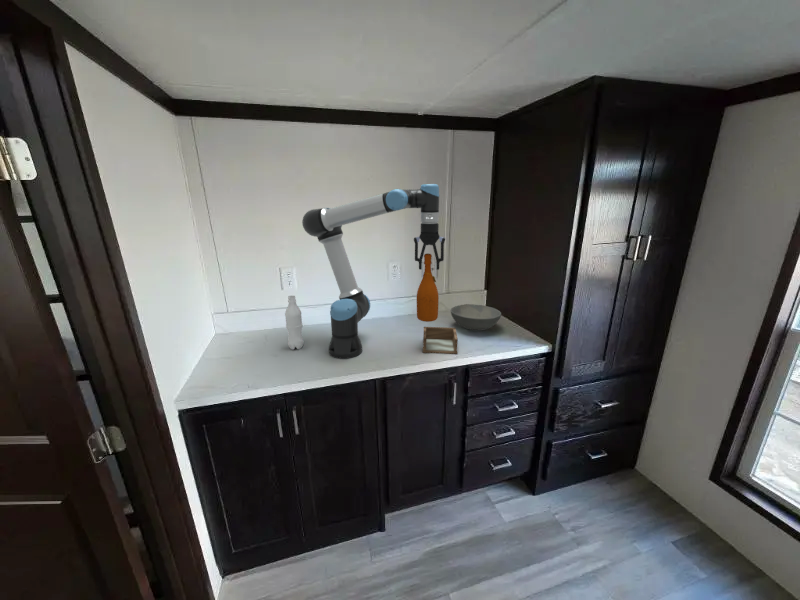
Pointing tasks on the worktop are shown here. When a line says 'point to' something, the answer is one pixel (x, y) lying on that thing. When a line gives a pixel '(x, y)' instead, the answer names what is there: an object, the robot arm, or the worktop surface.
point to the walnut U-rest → (440, 340)
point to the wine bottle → (427, 294)
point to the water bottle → (294, 324)
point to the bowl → (475, 316)
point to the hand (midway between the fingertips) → (428, 276)
